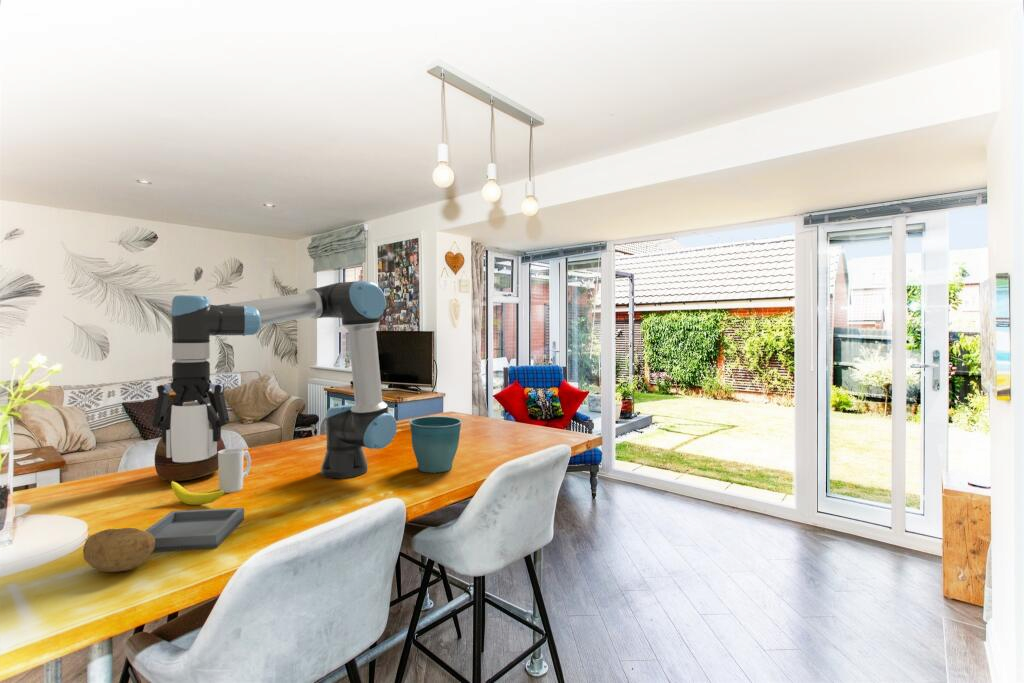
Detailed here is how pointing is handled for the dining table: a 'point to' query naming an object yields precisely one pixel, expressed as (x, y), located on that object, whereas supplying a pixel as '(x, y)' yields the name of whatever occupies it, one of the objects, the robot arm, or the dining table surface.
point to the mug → (232, 469)
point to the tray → (195, 528)
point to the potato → (118, 549)
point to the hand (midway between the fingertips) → (192, 455)
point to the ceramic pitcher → (185, 469)
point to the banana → (194, 495)
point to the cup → (189, 432)
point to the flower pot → (435, 442)
